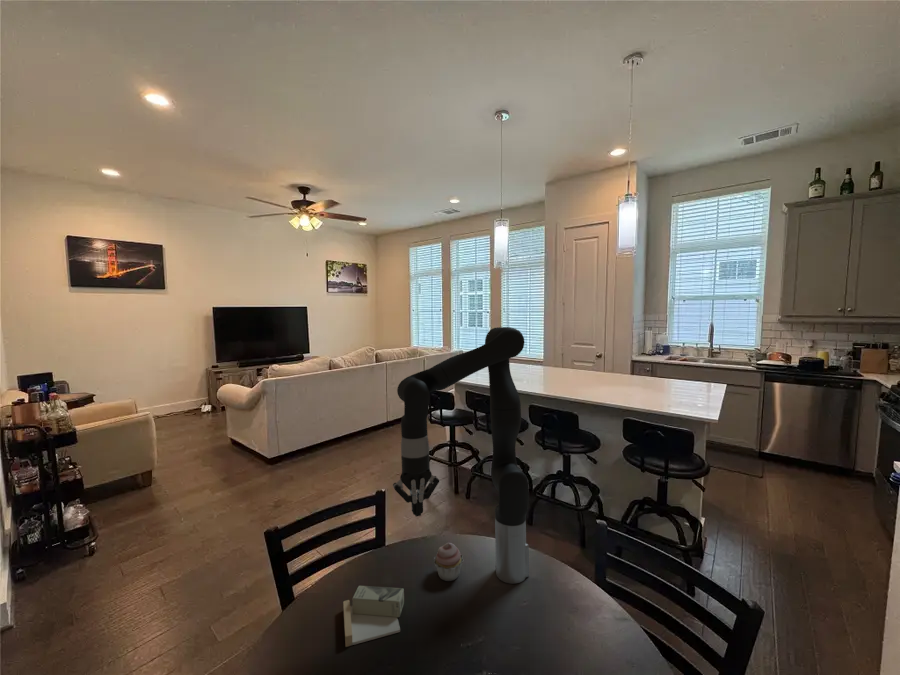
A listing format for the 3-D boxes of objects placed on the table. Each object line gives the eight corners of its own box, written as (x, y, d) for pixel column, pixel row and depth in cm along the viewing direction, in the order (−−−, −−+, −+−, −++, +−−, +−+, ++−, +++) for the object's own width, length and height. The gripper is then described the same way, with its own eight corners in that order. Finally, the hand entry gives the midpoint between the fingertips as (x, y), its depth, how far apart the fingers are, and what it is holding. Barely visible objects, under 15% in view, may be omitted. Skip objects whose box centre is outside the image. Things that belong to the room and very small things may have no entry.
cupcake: (430, 583, 108) (430, 550, 108) (436, 563, 118) (436, 533, 117) (462, 587, 107) (461, 553, 107) (465, 566, 116) (465, 535, 116)
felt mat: (392, 598, 103) (392, 589, 103) (400, 631, 91) (400, 622, 91) (343, 610, 99) (343, 601, 98) (345, 647, 87) (345, 636, 87)
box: (400, 601, 95) (351, 598, 96) (400, 618, 95) (351, 615, 96) (404, 587, 100) (358, 584, 101) (404, 602, 100) (358, 600, 101)
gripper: (434, 444, 105) (436, 504, 106) (388, 451, 101) (390, 513, 101) (442, 452, 98) (444, 516, 98) (393, 460, 94) (395, 526, 94)
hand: (417, 514), depth 100 cm, fingers closed
